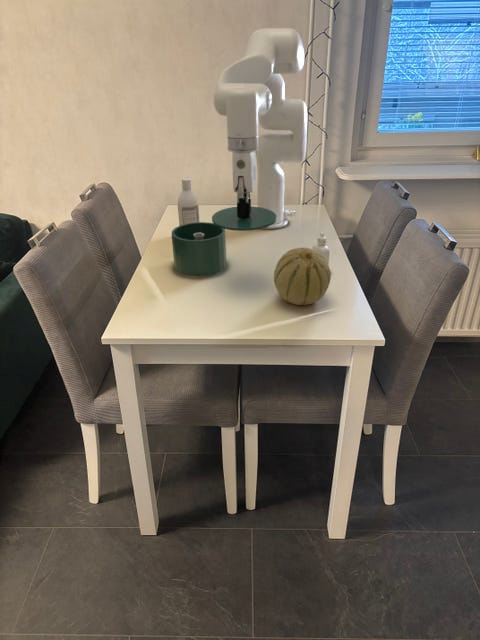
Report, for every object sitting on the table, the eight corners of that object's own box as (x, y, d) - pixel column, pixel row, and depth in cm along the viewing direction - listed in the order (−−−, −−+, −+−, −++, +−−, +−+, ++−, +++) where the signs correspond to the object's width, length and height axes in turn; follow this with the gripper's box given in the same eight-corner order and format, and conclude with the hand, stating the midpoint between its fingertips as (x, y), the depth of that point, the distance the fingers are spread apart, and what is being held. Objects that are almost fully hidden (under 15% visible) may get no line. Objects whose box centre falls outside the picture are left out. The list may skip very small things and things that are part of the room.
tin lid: (260, 206, 142) (260, 186, 139) (288, 226, 129) (288, 203, 126) (203, 216, 137) (201, 194, 134) (226, 237, 123) (225, 214, 120)
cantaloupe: (298, 283, 141) (300, 233, 133) (340, 301, 131) (345, 248, 124) (261, 301, 132) (261, 248, 124) (303, 321, 123) (306, 265, 115)
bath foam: (204, 236, 174) (200, 179, 164) (187, 241, 170) (183, 183, 160) (192, 231, 178) (188, 175, 168) (176, 236, 175) (171, 178, 164)
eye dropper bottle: (325, 267, 150) (328, 229, 144) (328, 275, 145) (331, 236, 139) (311, 267, 150) (313, 229, 144) (313, 275, 145) (315, 236, 139)
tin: (215, 253, 160) (214, 219, 155) (234, 272, 148) (233, 235, 142) (169, 262, 155) (165, 226, 150) (183, 282, 143) (180, 244, 137)
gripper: (254, 151, 115) (255, 226, 125) (261, 136, 129) (261, 205, 138) (222, 150, 116) (225, 226, 126) (232, 136, 130) (234, 205, 139)
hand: (244, 214), depth 132 cm, fingers closed on tin lid, 2 cm apart
